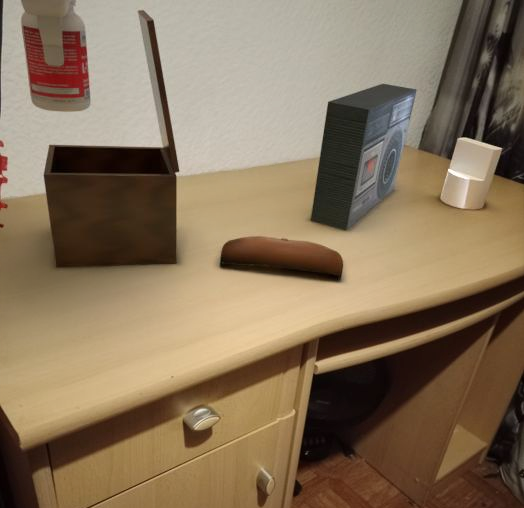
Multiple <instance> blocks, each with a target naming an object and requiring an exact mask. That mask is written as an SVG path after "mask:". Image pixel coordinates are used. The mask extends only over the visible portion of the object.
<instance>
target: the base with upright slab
mask: <svg viewBox="0 0 524 508" xmlns="http://www.w3.org/2000/svg"><path fill="white" fill-rule="evenodd" d="M456 140H457V141H456V143H455V147H454V150H453V153H452V157H451V161H450V163H449V168H448V169H447V173H446V176H445V178H444V179H445V180H444V182H443V186H442V190H441V193H440V194H441V195H440V200H441V202H442V203H444V204H446V205H448V206H451V207H454V208H458V209H463V210H471V211H472V210H473V211H474V210H475V211H476V210H481V209H483V208H484V206H485V203H486V200H487V197H488V194H489V191H490V188H491V185H492V182H493V179H494V175H495V172H496V169H497V166H498V163H499V160H500V158H501V154H502V151H503V148H502V147H499V146H495V145H492V144H489V143H486V142H483V141H479V140H477V139H472V138H470V137H469V138H468V137H459V138H457V139H456Z"/></svg>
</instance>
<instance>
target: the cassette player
mask: <svg viewBox="0 0 524 508" xmlns="http://www.w3.org/2000/svg"><path fill="white" fill-rule="evenodd" d="M417 91H418V89H416V88H411V87H405V86H399V85H393V84H389V83H381V84H378V85H374V86H371V87H369V88H365V89H362V90H359V91H357V92H353V93H351V94H347V95H344V96H341V97H338V98H335V99H332V100H328V102H327V106H326V112H325V113H326V114H325V119H324V125H323V133H322V141H321V146H320V154H319V160H318V166H317V167H318V168H317V173H316V179H315V188H314V194H313V200H312V208H311V214H310V221H311V222H314V223H318V224H321V225H325V226H328V227H333V228H336V229H339V230H343V231H347V230H349V229H350V228H351V227H353V225H355V224H356V223H357V222H359V220H360V219H362V218H363V217H364V216H365V215H367V213H369V212H370V211H371V210H372V209H373V208H374V207H376V206H377V205H378V204H379V203H380V202H382V200H384V199H385V198H386V197H387V196H388V195H390V193H392V192H393V191H394V190H395V185H396V181H397V177H398V172H399V168H400V164H401V159H402V156H403V151H404V146H405V142H406V138H407V133H408V129H409V126H410V122H411V117H412V112H413V109H414V108H413V107H414V103H415V99H416V95H417Z"/></svg>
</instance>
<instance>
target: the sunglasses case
mask: <svg viewBox="0 0 524 508" xmlns="http://www.w3.org/2000/svg"><path fill="white" fill-rule="evenodd" d="M219 264H220V265H223V264H225V265H226V264H227V265H245V266H250V265H253V266H267V267H272V268H273V267H274V268H279V269H288V270H289V269H290V270H298V271H302V272H311V273H320V274H327V275H334V276H338V277H339V278H340V279H342V276H343V269H344V260H343V257H342V255H341V254H340V252H338V251H337V250H335V249H332V248H330V247H328V246H325V245H322V244H320V243H316V242H312V241H307V240H297V239H295V240H294V239H288V238H284V237H281V238H278V237H277V238H276V237H271V236H262V235H255V236H253V235H251V236H244V237H243V236H242V237H238V238H234V239H229V240H228V241H226V242H225V243H224V244H223V246H222V248H221V252H220V258H219Z"/></svg>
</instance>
